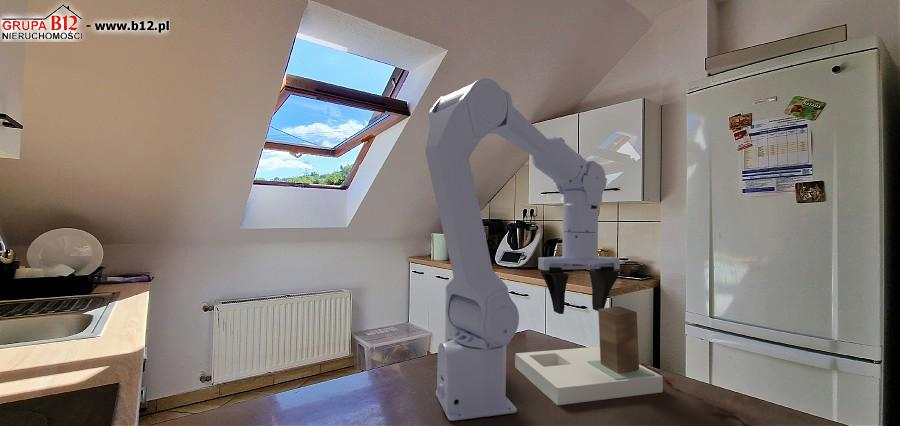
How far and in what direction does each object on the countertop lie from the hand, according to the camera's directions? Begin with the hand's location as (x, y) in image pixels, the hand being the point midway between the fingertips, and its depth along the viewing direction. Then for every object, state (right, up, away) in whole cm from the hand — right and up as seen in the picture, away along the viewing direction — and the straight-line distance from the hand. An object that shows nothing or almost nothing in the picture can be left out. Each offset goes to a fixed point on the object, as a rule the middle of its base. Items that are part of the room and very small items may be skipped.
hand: (578, 311), depth 66 cm
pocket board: (0, -10, -3) cm, 11 cm away
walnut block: (+5, -8, -4) cm, 10 cm away
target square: (+5, -8, -4) cm, 10 cm away
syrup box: (-20, -10, +2) cm, 22 cm away
